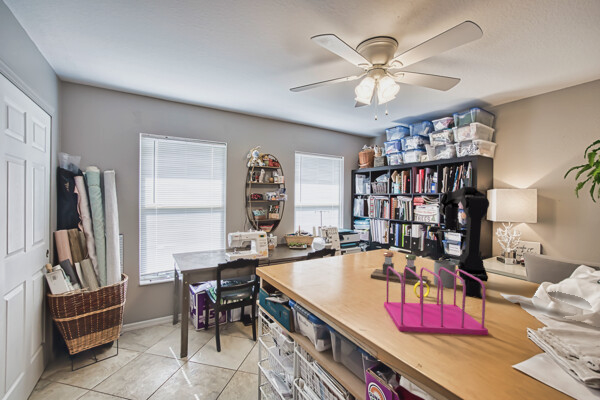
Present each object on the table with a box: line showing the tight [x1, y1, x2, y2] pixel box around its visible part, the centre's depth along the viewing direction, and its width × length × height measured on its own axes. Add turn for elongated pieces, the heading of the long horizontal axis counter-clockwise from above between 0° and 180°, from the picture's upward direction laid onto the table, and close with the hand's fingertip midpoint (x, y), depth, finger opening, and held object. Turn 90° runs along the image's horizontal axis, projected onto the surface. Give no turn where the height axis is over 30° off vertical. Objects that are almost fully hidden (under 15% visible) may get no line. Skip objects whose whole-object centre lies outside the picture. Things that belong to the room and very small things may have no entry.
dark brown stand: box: [370, 261, 428, 288], centre depth 126 cm, size 12×24×6 cm, turn 62°
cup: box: [433, 259, 457, 289], centre depth 119 cm, size 8×8×10 cm
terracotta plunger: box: [383, 251, 395, 265], centre depth 128 cm, size 5×5×6 cm
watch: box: [413, 281, 431, 298], centre depth 104 cm, size 6×3×6 cm, turn 94°
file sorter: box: [383, 266, 489, 336], centre depth 85 cm, size 17×25×16 cm
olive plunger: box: [405, 253, 417, 268], centre depth 124 cm, size 5×5×6 cm
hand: (450, 248), depth 131 cm, fingers open, 9 cm apart
